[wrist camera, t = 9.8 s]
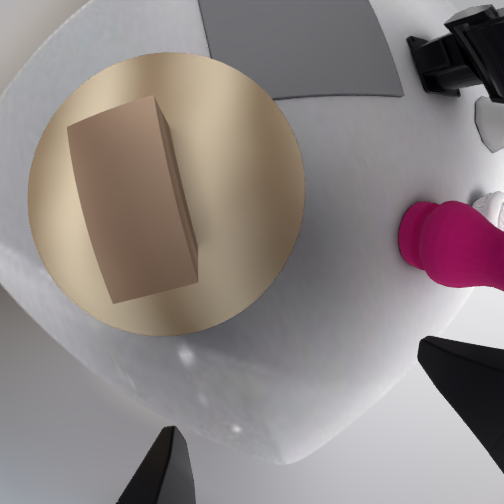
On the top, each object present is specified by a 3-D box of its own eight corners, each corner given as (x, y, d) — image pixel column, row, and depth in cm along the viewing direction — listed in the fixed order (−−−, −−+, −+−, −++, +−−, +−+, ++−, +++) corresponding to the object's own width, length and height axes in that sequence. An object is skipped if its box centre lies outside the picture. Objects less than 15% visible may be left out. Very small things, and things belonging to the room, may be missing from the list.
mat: (348, -29, 15) (351, -32, 14) (400, 97, 19) (404, 95, 18) (190, -35, 13) (190, -39, 12) (222, 107, 17) (223, 105, 16)
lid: (266, 40, 12) (300, -19, 6) (318, 290, 16) (370, 338, 10) (20, 115, 10) (-39, 98, 4) (85, 348, 14) (53, 410, 9)
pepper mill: (381, 251, 22) (588, 359, 3) (412, 181, 21) (620, 219, 2) (423, 280, 24) (579, 370, 5) (450, 219, 23) (610, 271, 4)
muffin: (457, 221, 24) (506, 233, 17) (473, 177, 23) (520, 183, 16) (476, 248, 25) (518, 263, 19) (491, 208, 25) (532, 217, 18)
